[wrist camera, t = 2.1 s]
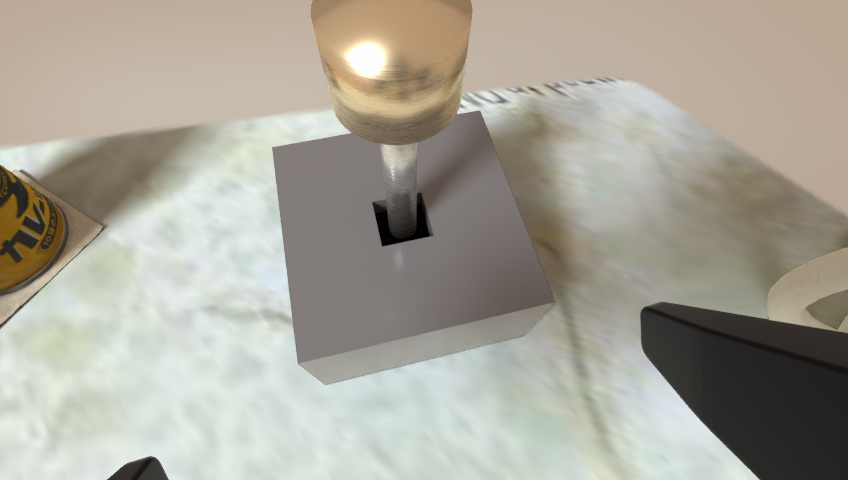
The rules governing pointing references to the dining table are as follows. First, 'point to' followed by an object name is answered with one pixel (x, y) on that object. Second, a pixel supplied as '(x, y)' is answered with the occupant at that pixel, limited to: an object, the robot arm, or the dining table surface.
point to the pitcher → (809, 290)
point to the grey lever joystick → (403, 254)
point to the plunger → (394, 80)
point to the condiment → (35, 238)
